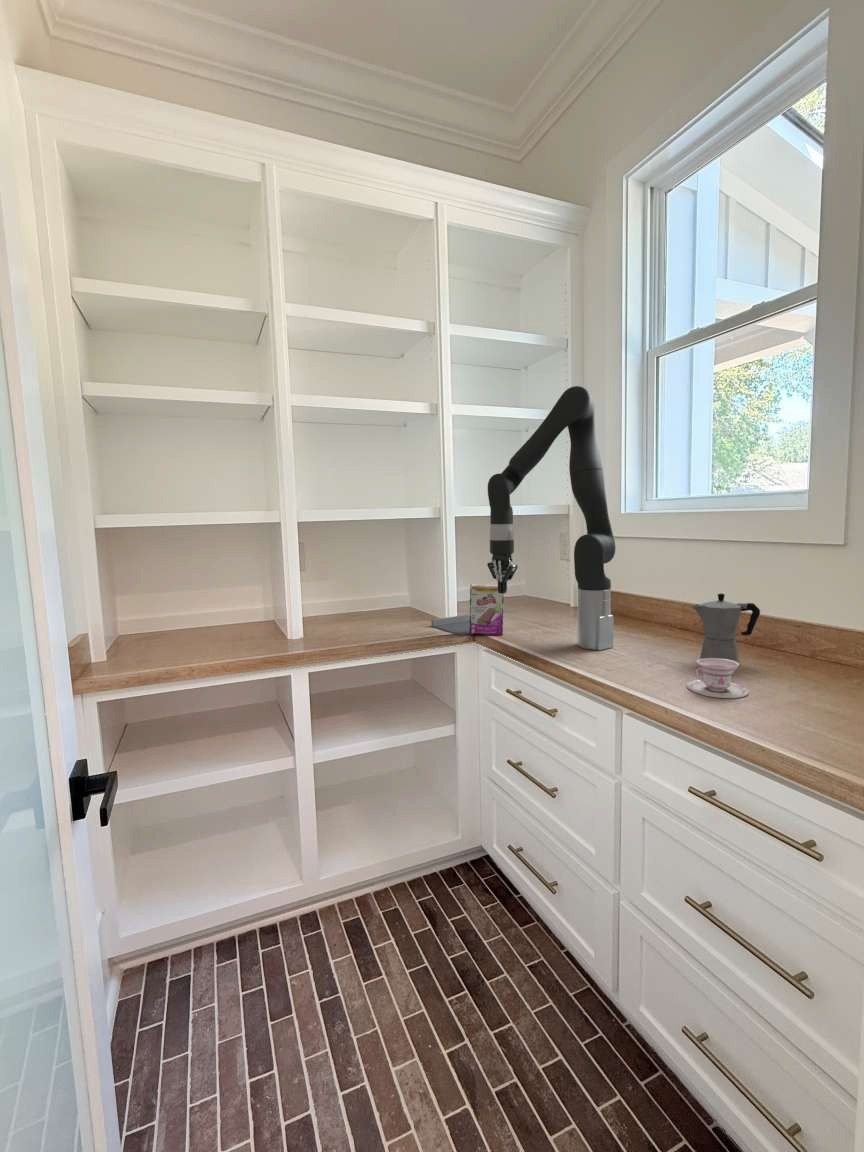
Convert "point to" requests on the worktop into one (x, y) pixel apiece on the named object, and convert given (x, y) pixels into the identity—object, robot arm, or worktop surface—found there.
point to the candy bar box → (486, 610)
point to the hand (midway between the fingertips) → (502, 593)
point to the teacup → (717, 679)
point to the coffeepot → (723, 627)
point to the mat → (453, 624)
